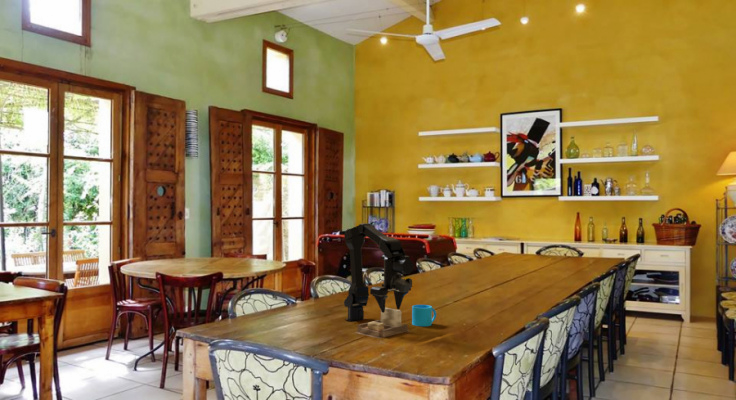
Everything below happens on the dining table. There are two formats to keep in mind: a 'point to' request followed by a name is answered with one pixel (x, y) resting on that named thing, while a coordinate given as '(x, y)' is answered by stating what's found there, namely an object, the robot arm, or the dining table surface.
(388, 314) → the block
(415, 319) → the mug
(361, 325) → the rack
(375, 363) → the dining table surface
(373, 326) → the offcut top
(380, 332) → the offcut low
